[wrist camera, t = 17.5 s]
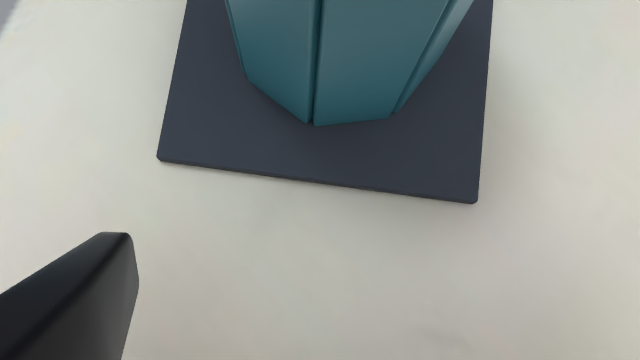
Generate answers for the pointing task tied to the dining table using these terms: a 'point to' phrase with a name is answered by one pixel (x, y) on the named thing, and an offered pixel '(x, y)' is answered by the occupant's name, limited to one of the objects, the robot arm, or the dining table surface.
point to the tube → (341, 52)
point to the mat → (330, 140)
